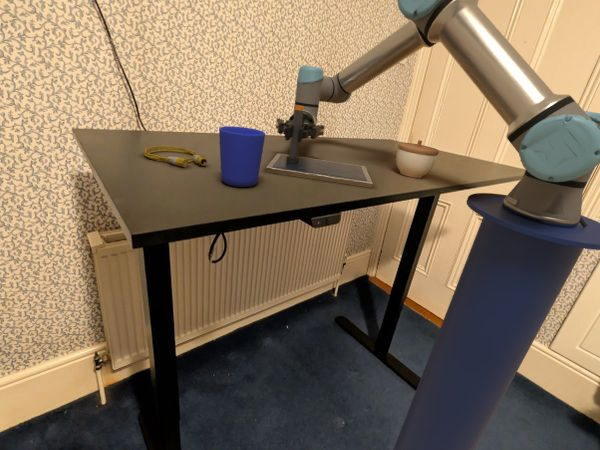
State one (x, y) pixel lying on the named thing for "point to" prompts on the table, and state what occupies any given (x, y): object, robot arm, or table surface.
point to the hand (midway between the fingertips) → (293, 134)
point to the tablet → (321, 170)
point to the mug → (240, 155)
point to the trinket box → (415, 159)
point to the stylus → (295, 135)
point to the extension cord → (176, 160)
